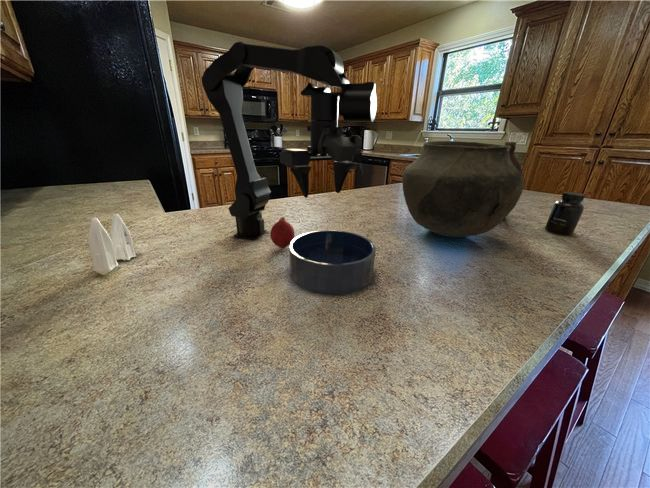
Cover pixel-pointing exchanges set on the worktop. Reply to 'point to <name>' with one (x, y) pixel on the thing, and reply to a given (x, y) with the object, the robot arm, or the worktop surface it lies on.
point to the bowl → (331, 261)
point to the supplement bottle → (565, 214)
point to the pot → (461, 187)
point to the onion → (282, 233)
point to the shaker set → (109, 244)
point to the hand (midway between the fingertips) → (322, 194)
